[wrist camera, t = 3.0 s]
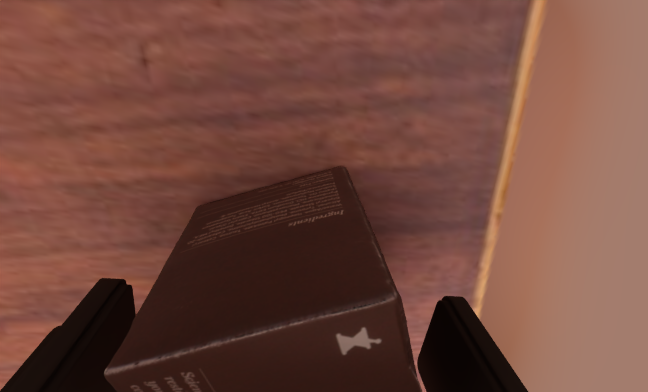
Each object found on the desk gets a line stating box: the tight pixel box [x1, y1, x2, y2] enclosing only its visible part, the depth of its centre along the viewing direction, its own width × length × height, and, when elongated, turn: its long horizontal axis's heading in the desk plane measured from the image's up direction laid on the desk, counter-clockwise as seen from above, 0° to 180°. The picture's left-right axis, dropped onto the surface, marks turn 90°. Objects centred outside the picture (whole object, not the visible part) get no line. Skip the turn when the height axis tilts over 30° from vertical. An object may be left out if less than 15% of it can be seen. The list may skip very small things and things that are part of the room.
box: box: [104, 166, 422, 392], centre depth 11 cm, size 6×6×7 cm
